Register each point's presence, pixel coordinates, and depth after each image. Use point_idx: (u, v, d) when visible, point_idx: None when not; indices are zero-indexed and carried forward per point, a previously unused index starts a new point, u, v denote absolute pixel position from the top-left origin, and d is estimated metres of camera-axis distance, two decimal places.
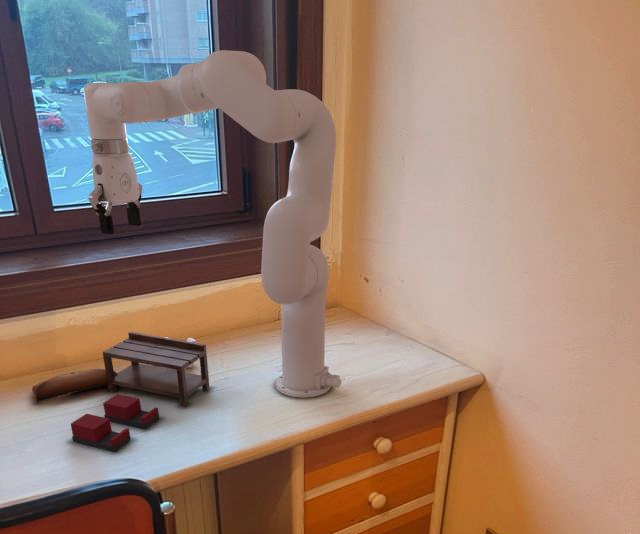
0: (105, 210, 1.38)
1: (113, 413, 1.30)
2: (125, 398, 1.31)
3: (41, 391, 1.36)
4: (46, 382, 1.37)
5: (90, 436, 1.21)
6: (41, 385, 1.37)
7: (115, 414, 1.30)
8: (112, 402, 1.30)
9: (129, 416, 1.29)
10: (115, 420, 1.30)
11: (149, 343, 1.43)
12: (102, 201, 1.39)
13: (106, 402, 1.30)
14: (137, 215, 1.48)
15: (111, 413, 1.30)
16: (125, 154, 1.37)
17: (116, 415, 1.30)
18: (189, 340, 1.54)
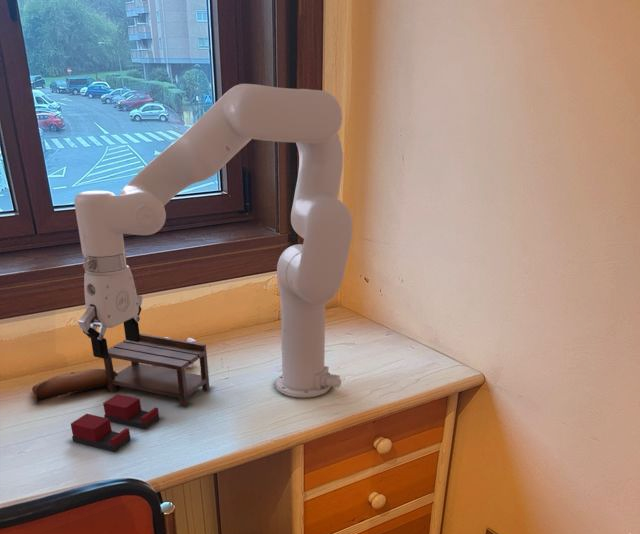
0: (98, 334, 1.19)
1: (113, 413, 1.30)
2: (125, 398, 1.31)
3: (41, 391, 1.36)
4: (46, 382, 1.37)
5: (90, 436, 1.21)
6: (41, 385, 1.37)
7: (115, 414, 1.30)
8: (112, 402, 1.30)
9: (129, 416, 1.29)
10: (115, 420, 1.30)
11: (149, 343, 1.43)
12: (95, 323, 1.20)
13: (106, 402, 1.30)
14: (136, 331, 1.29)
15: (111, 413, 1.30)
16: (122, 271, 1.18)
17: (116, 415, 1.30)
18: (189, 340, 1.54)
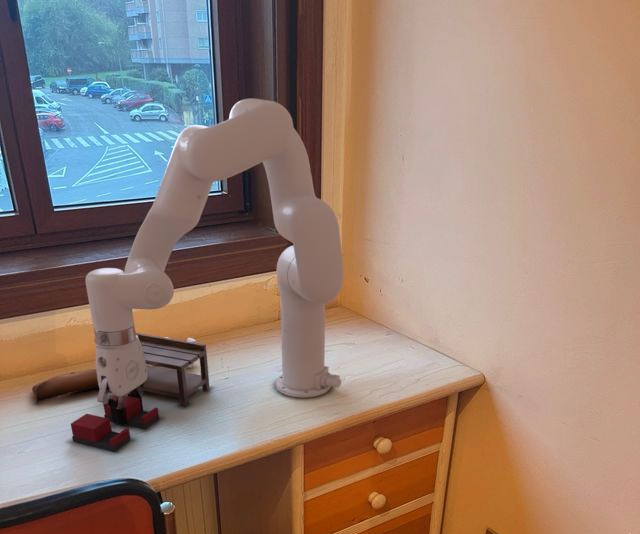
0: (117, 405, 1.26)
1: None
2: (125, 398, 1.31)
3: (41, 391, 1.36)
4: (46, 382, 1.37)
5: (90, 436, 1.21)
6: (41, 385, 1.37)
7: None
8: None
9: (129, 416, 1.29)
10: None
11: (149, 343, 1.43)
12: None
13: None
14: None
15: None
16: (132, 343, 1.22)
17: None
18: (189, 340, 1.54)
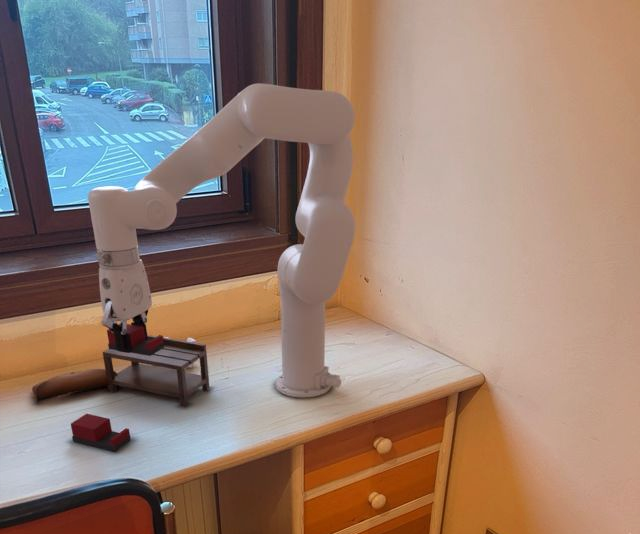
0: (121, 330, 1.24)
1: None
2: (129, 326, 1.29)
3: (41, 391, 1.36)
4: (46, 382, 1.37)
5: (90, 436, 1.21)
6: (41, 385, 1.37)
7: None
8: None
9: (133, 343, 1.27)
10: None
11: None
12: None
13: None
14: None
15: None
16: (136, 264, 1.20)
17: None
18: (189, 340, 1.54)
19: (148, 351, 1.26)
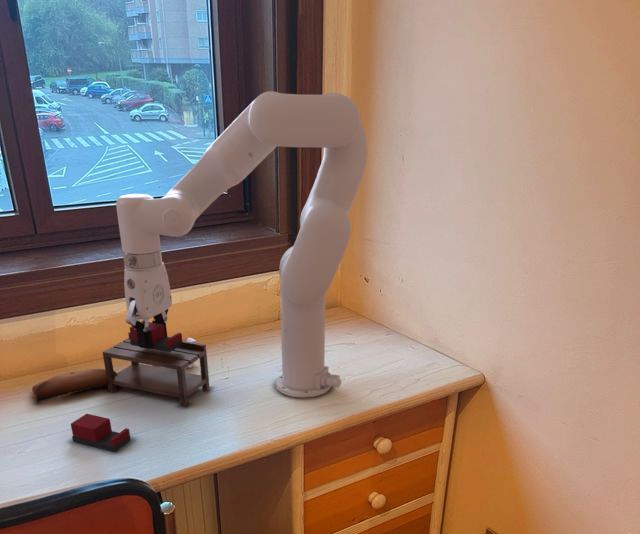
0: (144, 327, 1.33)
1: None
2: (150, 324, 1.38)
3: (41, 391, 1.36)
4: (46, 382, 1.37)
5: (90, 436, 1.21)
6: (41, 385, 1.37)
7: None
8: None
9: (154, 340, 1.36)
10: None
11: None
12: None
13: (132, 327, 1.36)
14: None
15: None
16: (159, 266, 1.29)
17: None
18: (189, 340, 1.54)
19: (168, 347, 1.34)
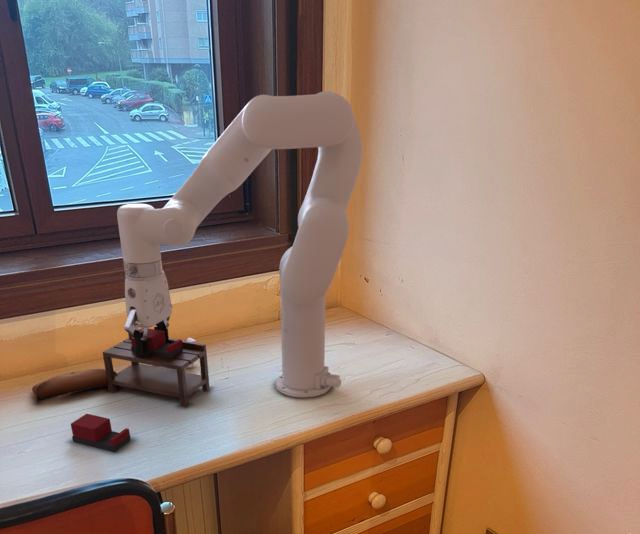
0: (142, 336, 1.32)
1: None
2: (150, 331, 1.39)
3: (41, 391, 1.36)
4: (46, 382, 1.37)
5: (90, 436, 1.21)
6: (41, 385, 1.37)
7: None
8: None
9: (155, 347, 1.37)
10: None
11: None
12: None
13: None
14: (165, 336, 1.40)
15: None
16: (159, 276, 1.30)
17: None
18: (189, 340, 1.54)
19: (168, 354, 1.35)
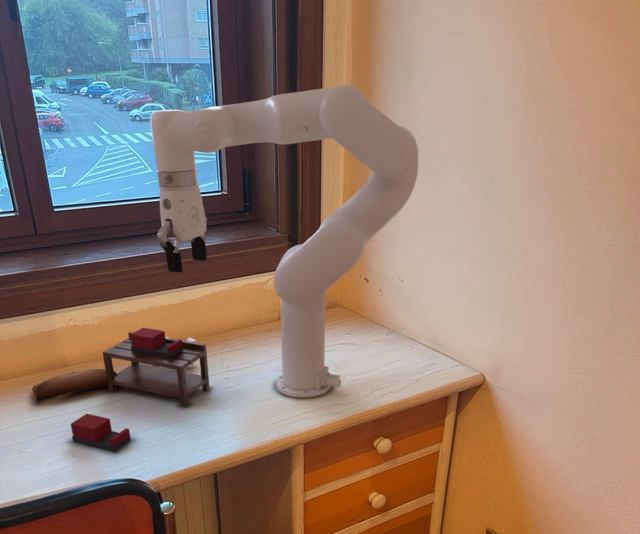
0: (174, 247, 1.27)
1: (140, 344, 1.37)
2: (150, 331, 1.39)
3: (41, 391, 1.36)
4: (46, 382, 1.37)
5: (90, 436, 1.21)
6: (41, 385, 1.37)
7: (141, 345, 1.37)
8: (139, 333, 1.37)
9: (155, 347, 1.37)
10: (142, 351, 1.38)
11: None
12: (170, 237, 1.28)
13: (133, 334, 1.37)
14: (203, 249, 1.37)
15: (138, 344, 1.37)
16: (194, 186, 1.26)
17: (142, 346, 1.37)
18: (189, 340, 1.54)
19: (168, 354, 1.35)
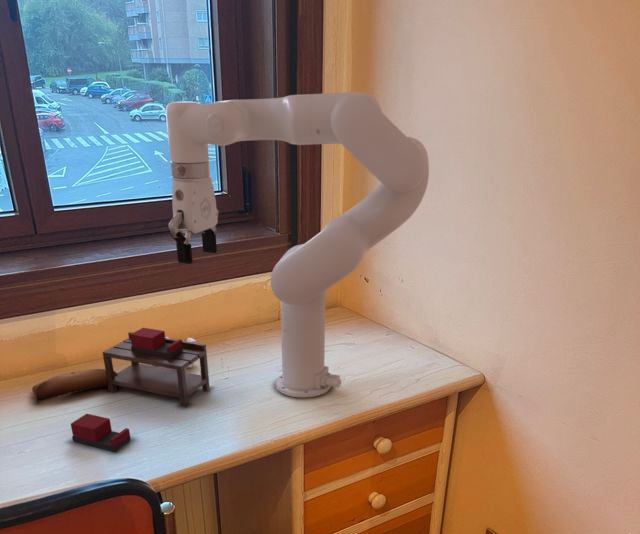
0: (185, 238, 1.28)
1: (140, 344, 1.37)
2: (150, 331, 1.39)
3: (41, 391, 1.36)
4: (46, 382, 1.37)
5: (90, 436, 1.21)
6: (41, 385, 1.37)
7: (141, 345, 1.37)
8: (139, 333, 1.37)
9: (155, 347, 1.37)
10: (142, 351, 1.38)
11: None
12: (181, 228, 1.29)
13: (133, 334, 1.37)
14: (213, 242, 1.38)
15: (138, 344, 1.37)
16: (207, 178, 1.27)
17: (142, 346, 1.37)
18: (189, 340, 1.54)
19: (168, 354, 1.35)
